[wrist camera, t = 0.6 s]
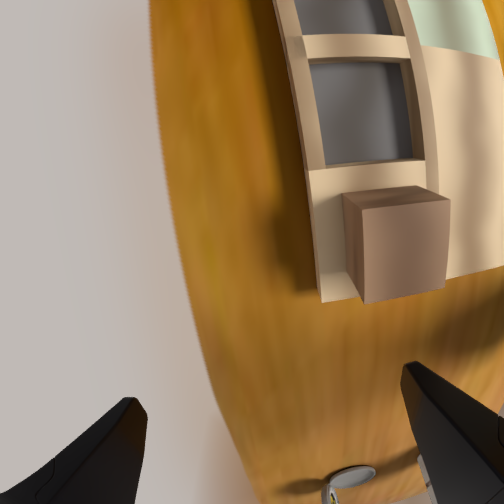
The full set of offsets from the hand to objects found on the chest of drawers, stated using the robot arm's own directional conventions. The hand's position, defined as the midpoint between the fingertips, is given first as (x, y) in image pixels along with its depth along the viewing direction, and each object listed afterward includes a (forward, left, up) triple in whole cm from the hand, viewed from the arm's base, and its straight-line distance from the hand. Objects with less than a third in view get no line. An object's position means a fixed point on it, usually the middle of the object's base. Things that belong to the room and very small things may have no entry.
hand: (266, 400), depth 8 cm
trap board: (-11, -8, -13) cm, 19 cm away
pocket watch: (-6, +36, -13) cm, 39 cm away
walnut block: (-7, -1, -11) cm, 13 cm away
